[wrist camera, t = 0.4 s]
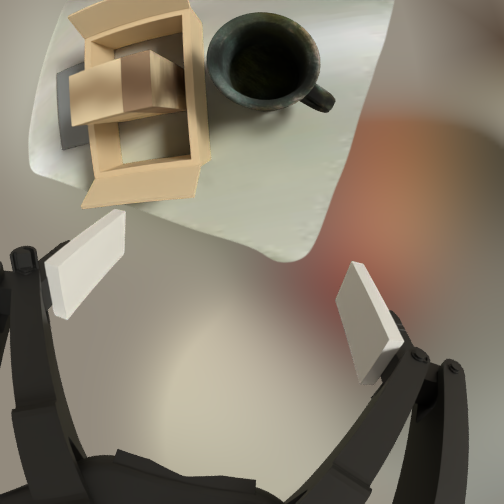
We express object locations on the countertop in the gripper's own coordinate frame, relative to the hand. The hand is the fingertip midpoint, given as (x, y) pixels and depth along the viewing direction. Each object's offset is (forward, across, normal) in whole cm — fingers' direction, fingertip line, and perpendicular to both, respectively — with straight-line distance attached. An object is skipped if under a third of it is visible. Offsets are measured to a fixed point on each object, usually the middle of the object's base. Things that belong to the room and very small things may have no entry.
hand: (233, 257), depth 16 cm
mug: (+27, 0, +13) cm, 30 cm away
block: (+27, -16, +8) cm, 33 cm away
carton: (+27, -16, +8) cm, 33 cm away
